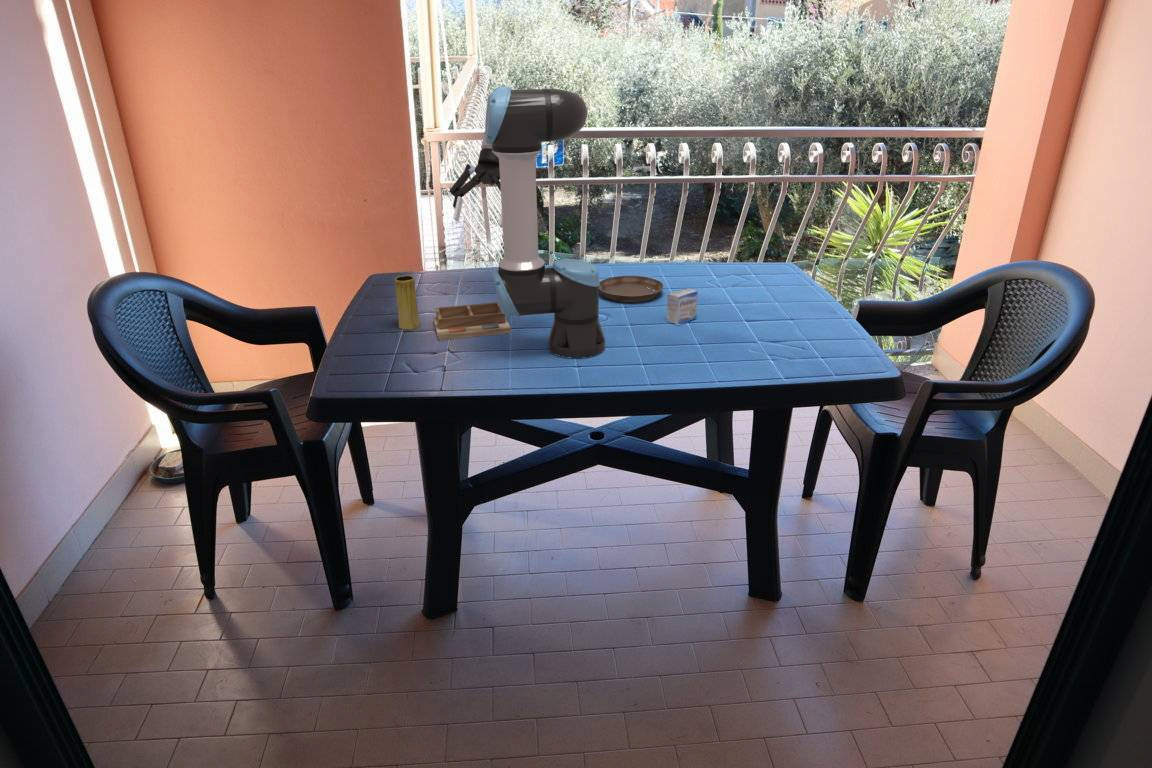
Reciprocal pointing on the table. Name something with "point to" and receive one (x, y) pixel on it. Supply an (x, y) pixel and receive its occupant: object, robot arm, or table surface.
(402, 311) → the vase
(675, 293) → the medicine box
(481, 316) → the tray
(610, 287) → the plant saucer
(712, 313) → the table surface
